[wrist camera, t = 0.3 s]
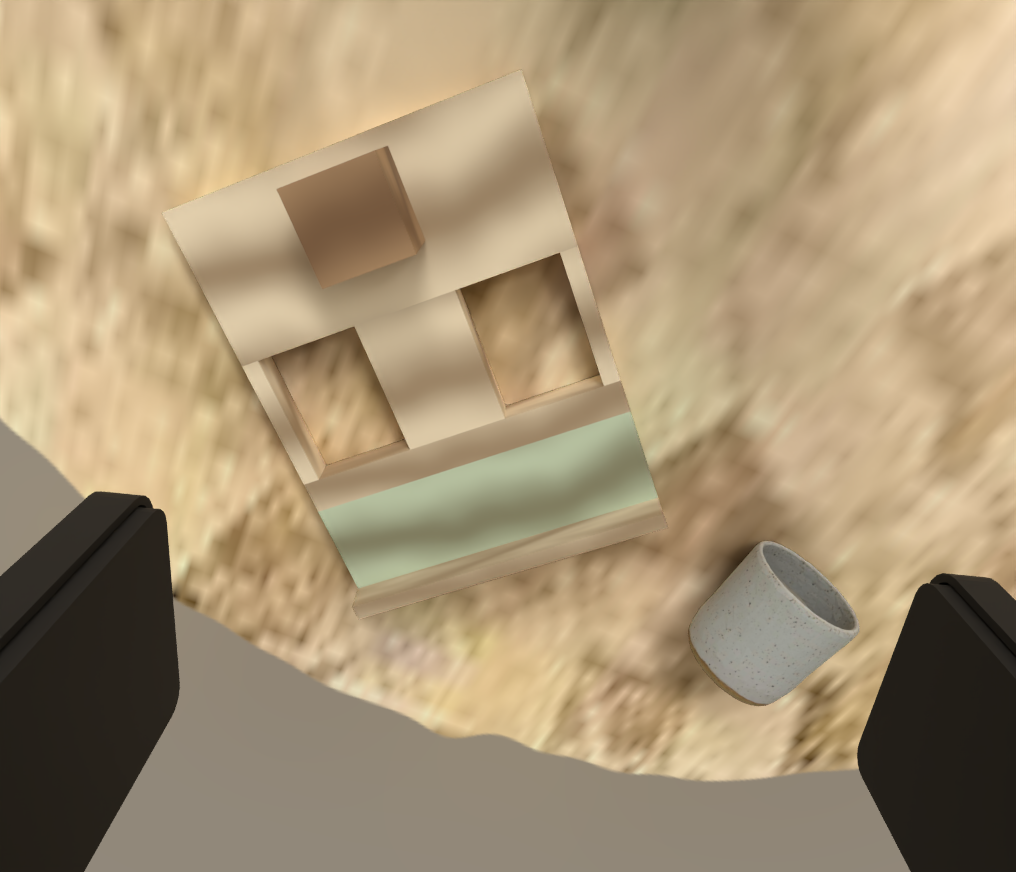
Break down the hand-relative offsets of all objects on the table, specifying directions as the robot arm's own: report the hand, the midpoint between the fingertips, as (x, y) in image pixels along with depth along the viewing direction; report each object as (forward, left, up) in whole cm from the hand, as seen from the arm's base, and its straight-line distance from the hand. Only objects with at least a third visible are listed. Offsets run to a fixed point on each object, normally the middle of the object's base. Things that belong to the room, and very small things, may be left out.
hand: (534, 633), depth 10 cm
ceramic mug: (+29, +8, -36) cm, 47 cm away
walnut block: (-4, -8, -33) cm, 34 cm away
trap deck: (+6, -8, -35) cm, 37 cm away
